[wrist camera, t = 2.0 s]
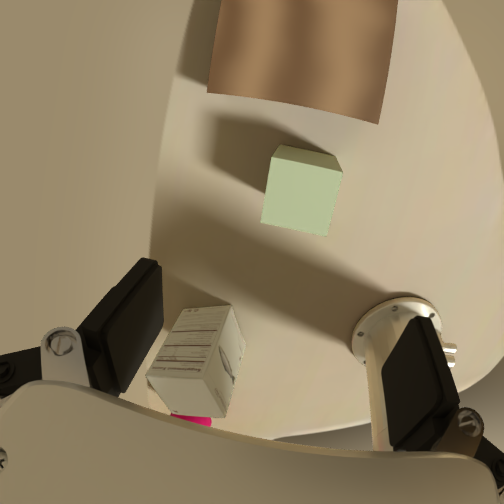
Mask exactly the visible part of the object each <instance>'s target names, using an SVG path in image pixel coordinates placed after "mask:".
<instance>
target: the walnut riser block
mask: <svg viewBox="0 0 504 504" xmlns="http://www.w3.org/2000/svg"><path fill="white" fill-rule="evenodd" d="M397 5H398V0H221V5H220V11H219V16H218V22H217V28H216V34H215V40H214V46H213V52H212V59H211V66H210V72H209V80H208V87H207V93H216V94H226V95H235V96H243V97H251V98H258V99H265V100H271V101H277V102H283V103H289V104H294V105H299V106H304V107H309V108H314V109H319V110H323V111H328V112H332V113H336V114H340V115H345V116H349V117H352V118H356V119H360V120H364V121H367V122H371V123H374V124H378V123H379V118H380V113H381V108H382V103H383V98H384V93H385V88H386V82H387V77H388V71H389V65H390V58H391V52H392V45H393V38H394V31H395V23H396V14H397Z"/></svg>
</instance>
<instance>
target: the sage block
mask: <svg viewBox="0 0 504 504" xmlns="http://www.w3.org/2000/svg"><path fill="white" fill-rule="evenodd" d="M342 174H343V171H342V169H341V167H340V165H339V163H338V161H337V158H336V156H332V155H327V154H323V153H319V152H314V151H310V150H305V149H300V148H295V147H290V146H285V145H279V146H278V148H277V149H276V151H275V152H274V154H273V155H272V157H271V163H270V169H269V175H268V181H267V187H266V192H265V198H264V204H263V210H262V216H261V222H260V223H265V224H270V225H274V226H279V227H284V228H288V229H293V230H298V231H302V232H307V233H311V234H316V235H321V236H325V237H326V236H327V233H328V229H329V225H330V222H331V218H332V214H333V210H334V207H335V203H336V199H337V195H338V191H339V187H340V183H341V179H342Z"/></svg>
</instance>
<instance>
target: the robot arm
mask: <svg viewBox="0 0 504 504" xmlns="http://www.w3.org/2000/svg"><path fill="white" fill-rule="evenodd" d="M163 322H164V316H163V293H162V267H161V266H159V265H158V262H157V261H156V260H151V259H147V258H141V259H140V260H139V261H138V262H137V263H136V264H135V265H134V266H133V267H132V269H131V270H130V271H129V272H128V273H127V274H126V275H125V276H124V277H123V278H122V280H121V281H120V282H119V283H118V284H117V285H116V286H115V287H113V288H111V290H110V291H109V292H108V293H107V294H106V295H105V296H104V298H103V299H102V300H101V301H100V302H99V303H98V305H96V307H95V308H94V309H93V310H92V312H91V313H90V314H89V315H88V316H87V317H86V318H85V320H84V321H83V322H82V323H81V325H80V326H79V327H78V328H77V329H76V330H74V329H72V328H69V327H57V328H54V329H52V330H50V331H49V332H47V333H46V334H45V335H44V337H43V339H42V340H41V346H40V347H35V348H31V349H27V350H22V351H18V352H13V353H9V354H4V355H0V504H504V453H503V452H501V451H500V450H499V449H498V448H497V447H495V446H494V445H493V444H492V443H491V442H490V441H488V440H487V439H486V438H485V437H484V436H483V433H484V422H483V419H482V417H481V416H480V414H479V413H478V412H477V411H475V410H474V409H472V408H469V407H462V408H460V409H459V405H458V404H459V403H460V399H459V396H458V392H457V389H456V386H455V383H454V380H453V377H452V374H451V371H450V369H451V368H452V367H453V366H454V363H455V358H454V356H451V355H445V354H444V352H445V353H450V354H454V353H455V351H456V348H457V347H456V344H452V343H444V342H443V341H442V338H441V333H442V321H441V318H440V315H439V313H438V311H437V310H436V309H435V307H434V306H433V305H432V304H430V303H429V302H427V301H425V300H423V299H419V298H414V297H402V298H395V299H392V300H389V301H386V302H383V303H381V304H379V305H377V306H376V307H374V308H373V309H371V310H369V311H368V312H367V313H366V314H365V315H364V316H363V317H362V318H361V319H360V320H359V322H358V323H357V325H356V327H355V328H354V331H353V334H352V351H353V353H354V356H355V357H356V359H357V360H358V361H359V362H360V363H361V364H362V365H364V366H366V370H367V379H368V389H369V399H370V411H371V425H372V442H373V451H361V450H345V449H332V448H323V447H314V446H306V445H298V444H291V443H285V442H278V441H273V440H267V439H262V438H256V437H251V436H247V435H242V434H237V433H233V432H228V431H224V430H220V429H216V428H212V427H208V426H204V425H201V424H197V423H193V422H190V421H186V420H183V419H180V418H176V417H173V416H170V415H167V414H164V413H161V412H158V411H155V410H152V409H149V408H146V407H142V406H140V405H137V404H134V403H131V402H129V401H126V400H123V399H120V398H118V397H119V395H120V393H125V392H126V390H127V389H128V387H129V385H130V383H131V381H132V379H133V378H134V376H135V374H136V373H137V371H138V369H139V367H140V365H141V364H142V362H143V360H144V358H145V357H146V355H147V353H148V351H149V350H150V348H151V346H152V345H153V343H154V341H155V339H156V338H157V336H158V334H159V332H160V331H161V329H162V326H163Z"/></svg>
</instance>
